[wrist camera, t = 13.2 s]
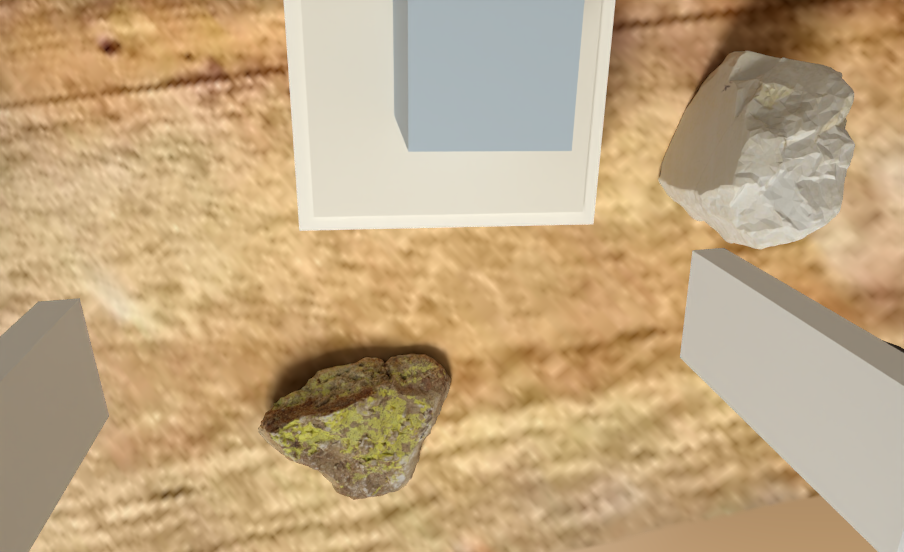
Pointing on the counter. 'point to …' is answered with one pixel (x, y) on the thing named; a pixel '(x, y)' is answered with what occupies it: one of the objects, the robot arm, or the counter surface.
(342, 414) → the rock
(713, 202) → the stone
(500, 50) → the block
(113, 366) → the counter surface
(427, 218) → the plinth
